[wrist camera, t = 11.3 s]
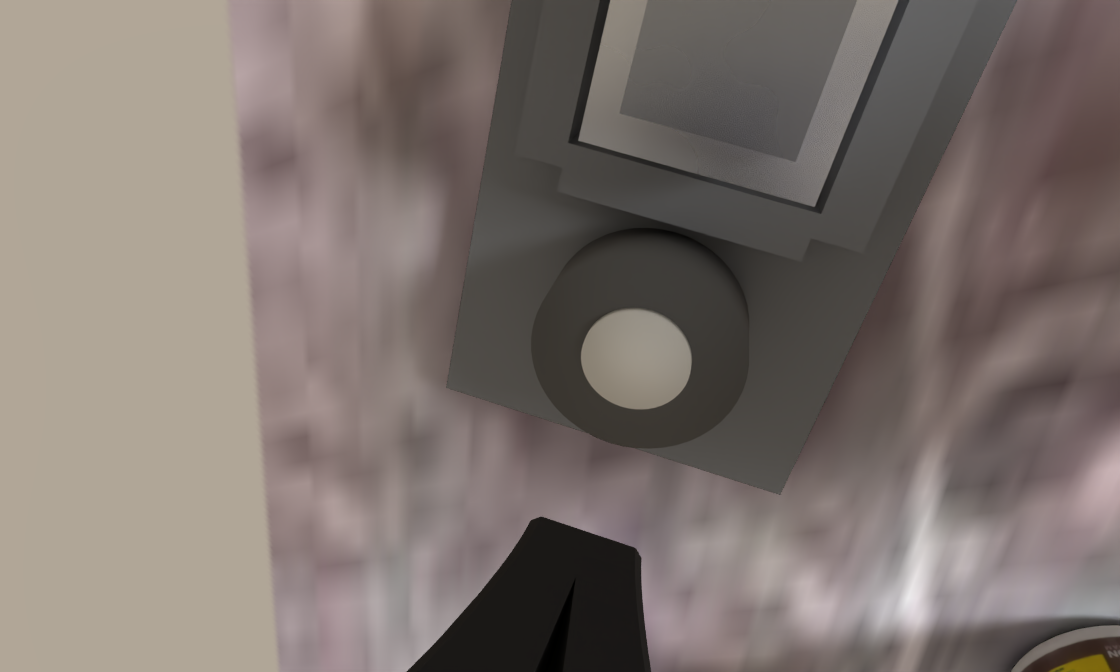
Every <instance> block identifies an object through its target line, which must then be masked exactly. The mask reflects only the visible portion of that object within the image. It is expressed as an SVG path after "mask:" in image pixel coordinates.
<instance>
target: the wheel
mask: <svg viewBox="0 0 1120 672" xmlns="http://www.w3.org/2000/svg"><path fill="white" fill-rule="evenodd" d="M531 353H532V361H533V365H534V369H535V372H536V375H537V378H538V380H539V382H540V385H541V387H542V388H543V390H544V392H545V394H546V395H547V397H548V398H549V400H550V401H551V402H552V403H553V405H554V406H555V407H556V408H557V409H558V410H559V411H560V412H561V414H562V415H563V416H564V417H566V418H567V419H568V420H569V421H571V422H572V423H573V424H574V425H576V426H577V427H579V428H580V429H582V430H583V431H585V432H587V433H589V434H591V435H593V436H595V437H596V438H599V439H601V440H604V441H607V442H609V443H613V444H617V445H621V446H626V447H632V448H646V449H652V448H664V447H670V446H675V445H679V444H682V443H685V442H688V441H691V440H693V439H695V438H697V437H700V436H701V435H703V434H705V433H706V432H708V431H710V430H711V429H713V428H714V427H715V426H716V425H718V424H719V423H720V422H721V421H722V420H723V419H724V418H725V417H726V416H727V415H728V414H729V413H730V412H731V410H732V409H733V407H734V406H735V404H736V403H737V402H738V400H739V398H740V396H741V394H742V392H743V389H744V386H745V383H746V380H747V375H748V369H749V313H748V306H747V302H746V299H745V295H744V292H743V290H742V288H741V286H740V284H739V282H738V280H737V278H736V277H735V275H734V274H733V272H732V271H731V269H730V268H729V267H728V266H727V265H726V264H725V262H724V261H723V260H722V259H721V258H720V257H718V256H717V255H716V254H715V253H714V252H713V251H712V250H710V249H709V248H707V247H706V246H704V245H703V244H701V243H699V242H697V241H696V240H694V239H692V238H690V237H687V236H685V235H682V234H679V233H676V232H672V231H668V230H664V229H656V228H631V229H625V230H619V231H616V232H613V233H609V234H606V235H604V236H602V237H600V238H598V239H595V240H594V241H592V242H590V243H589V244H587V245H586V246H584V247H583V248H582V249H581V250H579V251H578V252H577V253H576V254H575V255H574V256H573V257H572V258H571V259H570V260H569V261H568V262H567V264H566V265H565V267H564V268H563V269H562V271H561V272H560V274H559V276H558V277H557V279H556V281H555V282H554V284H553V285H552V287H551V289H550V290H549V292H548V293H547V295H546V297H545V298H544V300H543V302H542V303H541V306H540V308H539V310H538V312H537V314H536V317H535V321H534V324H533V329H532V335H531Z"/></svg>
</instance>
